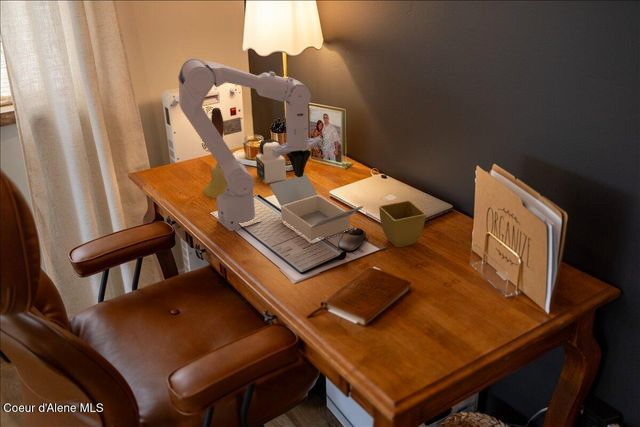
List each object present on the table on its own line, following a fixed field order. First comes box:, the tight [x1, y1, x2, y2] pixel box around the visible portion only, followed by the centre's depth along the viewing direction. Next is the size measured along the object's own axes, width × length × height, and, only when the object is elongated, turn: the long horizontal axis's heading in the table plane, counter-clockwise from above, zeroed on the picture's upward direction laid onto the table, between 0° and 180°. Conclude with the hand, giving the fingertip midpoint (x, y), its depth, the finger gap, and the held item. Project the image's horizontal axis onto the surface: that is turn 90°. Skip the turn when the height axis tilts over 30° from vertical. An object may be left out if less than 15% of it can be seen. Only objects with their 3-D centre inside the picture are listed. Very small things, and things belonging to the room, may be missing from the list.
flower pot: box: [378, 200, 427, 248], centre depth 146 cm, size 9×9×9 cm
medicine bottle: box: [255, 139, 287, 185], centre depth 182 cm, size 7×7×12 cm
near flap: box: [312, 205, 364, 228], centre depth 145 cm, size 12×7×1 cm
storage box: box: [280, 194, 351, 241], centre depth 155 cm, size 12×14×5 cm
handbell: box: [202, 107, 228, 199], centre depth 172 cm, size 12×12×25 cm
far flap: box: [269, 174, 318, 207], centre depth 160 cm, size 12×7×1 cm
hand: (298, 175), depth 160 cm, fingers closed
